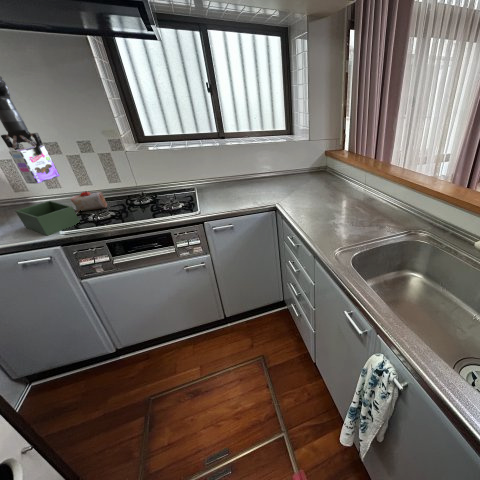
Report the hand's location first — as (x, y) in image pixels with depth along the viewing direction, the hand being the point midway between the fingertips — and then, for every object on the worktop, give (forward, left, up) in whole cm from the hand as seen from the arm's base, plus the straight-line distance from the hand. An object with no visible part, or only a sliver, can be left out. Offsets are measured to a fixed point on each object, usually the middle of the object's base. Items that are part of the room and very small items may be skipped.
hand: (31, 155), depth 136 cm
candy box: (0, 0, -13) cm, 13 cm away
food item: (+20, -10, -29) cm, 36 cm away
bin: (+10, -28, -28) cm, 41 cm away
